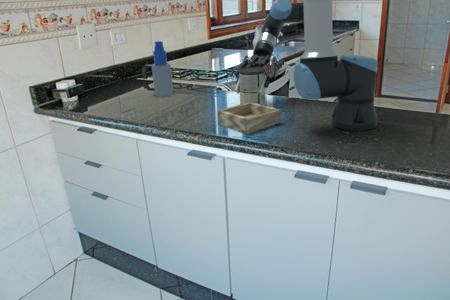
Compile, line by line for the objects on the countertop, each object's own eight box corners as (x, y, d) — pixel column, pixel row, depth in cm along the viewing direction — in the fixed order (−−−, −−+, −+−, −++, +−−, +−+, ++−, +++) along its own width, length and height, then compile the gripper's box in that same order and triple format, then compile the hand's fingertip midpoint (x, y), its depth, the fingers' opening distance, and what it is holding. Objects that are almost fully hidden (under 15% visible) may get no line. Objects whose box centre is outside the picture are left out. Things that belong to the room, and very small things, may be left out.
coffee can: (240, 101, 158) (239, 67, 152) (265, 101, 157) (264, 66, 151) (238, 108, 148) (237, 72, 143) (265, 107, 147) (264, 71, 142)
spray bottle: (157, 97, 178) (151, 43, 168) (152, 93, 186) (146, 41, 176) (175, 94, 181) (170, 41, 172) (170, 91, 189) (164, 39, 179)
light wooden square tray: (280, 123, 134) (281, 109, 132) (248, 134, 125) (247, 120, 123) (250, 114, 146) (250, 101, 144) (218, 124, 137) (217, 110, 135)
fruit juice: (266, 76, 213) (265, 24, 203) (272, 79, 205) (273, 25, 194) (250, 77, 211) (249, 25, 200) (256, 80, 202) (256, 26, 192)
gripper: (293, 53, 152) (278, 100, 146) (243, 52, 163) (227, 95, 157) (288, 41, 146) (272, 89, 139) (237, 40, 157) (220, 85, 150)
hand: (248, 92), depth 148 cm, fingers closed on coffee can, 10 cm apart
